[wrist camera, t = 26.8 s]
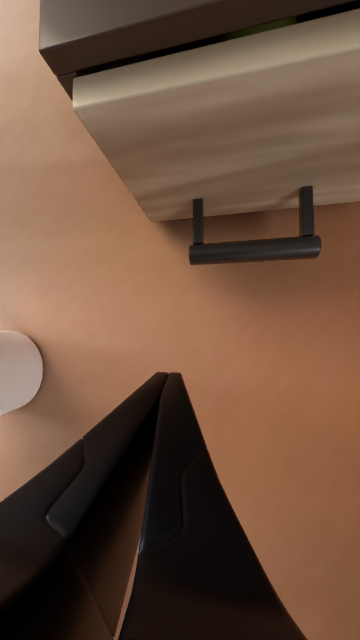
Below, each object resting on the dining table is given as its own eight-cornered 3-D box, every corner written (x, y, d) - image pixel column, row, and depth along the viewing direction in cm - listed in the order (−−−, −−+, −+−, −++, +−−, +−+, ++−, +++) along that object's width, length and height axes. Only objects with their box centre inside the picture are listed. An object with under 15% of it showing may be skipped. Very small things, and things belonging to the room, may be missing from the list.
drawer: (362, 264, 14) (578, 159, 5) (150, 275, 17) (69, 216, 8) (351, -4, 15) (524, -467, 6) (151, 47, 18) (78, -228, 9)
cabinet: (362, 190, 15) (663, -124, 5) (147, 213, 18) (37, 51, 8) (353, -20, 16) (599, -700, 5) (148, 35, 19) (49, -337, 8)
